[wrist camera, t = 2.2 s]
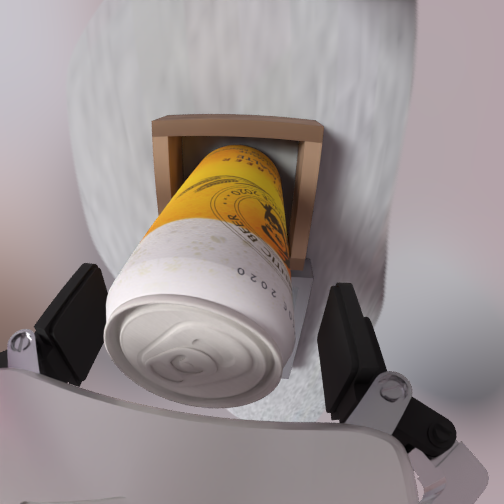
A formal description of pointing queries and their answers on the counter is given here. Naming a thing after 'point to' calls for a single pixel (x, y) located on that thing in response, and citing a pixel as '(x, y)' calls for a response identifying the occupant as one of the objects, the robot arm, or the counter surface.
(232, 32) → the counter surface
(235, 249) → the beer can
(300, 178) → the collar
